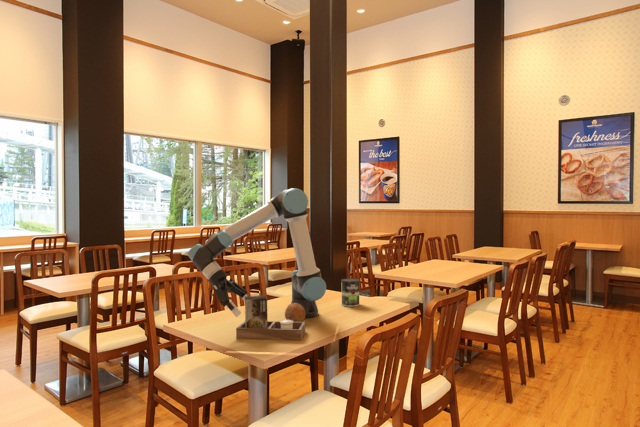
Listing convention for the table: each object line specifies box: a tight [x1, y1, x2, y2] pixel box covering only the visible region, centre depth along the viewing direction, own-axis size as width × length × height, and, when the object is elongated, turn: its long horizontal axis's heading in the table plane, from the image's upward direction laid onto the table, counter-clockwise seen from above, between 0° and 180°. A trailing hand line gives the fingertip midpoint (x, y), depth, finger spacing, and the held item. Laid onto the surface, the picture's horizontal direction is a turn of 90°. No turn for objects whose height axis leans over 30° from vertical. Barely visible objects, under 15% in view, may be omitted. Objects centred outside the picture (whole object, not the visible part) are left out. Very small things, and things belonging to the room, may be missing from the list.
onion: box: [284, 303, 306, 322], centre depth 193 cm, size 10×10×10 cm
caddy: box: [235, 320, 306, 342], centre depth 173 cm, size 12×27×5 cm, turn 83°
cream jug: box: [280, 319, 293, 329], centre depth 173 cm, size 6×6×6 cm
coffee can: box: [340, 278, 360, 308], centre depth 231 cm, size 10×10×14 cm
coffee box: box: [244, 294, 269, 328], centre depth 174 cm, size 9×6×16 cm
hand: (246, 311), depth 175 cm, fingers open, 13 cm apart
